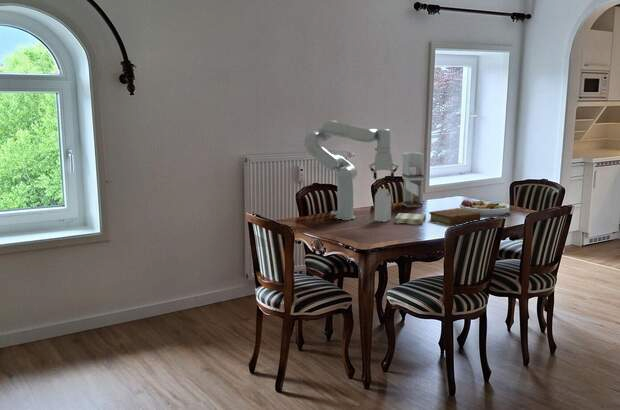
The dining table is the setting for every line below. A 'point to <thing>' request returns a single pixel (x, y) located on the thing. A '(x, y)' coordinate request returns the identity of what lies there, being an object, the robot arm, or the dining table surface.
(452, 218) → the diary
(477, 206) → the bowl
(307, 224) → the dining table surface
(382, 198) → the milk carton
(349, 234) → the dining table surface
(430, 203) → the dining table surface
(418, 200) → the display case
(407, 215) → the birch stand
